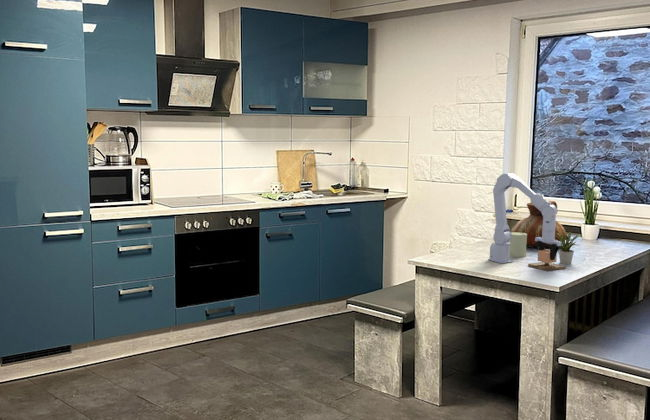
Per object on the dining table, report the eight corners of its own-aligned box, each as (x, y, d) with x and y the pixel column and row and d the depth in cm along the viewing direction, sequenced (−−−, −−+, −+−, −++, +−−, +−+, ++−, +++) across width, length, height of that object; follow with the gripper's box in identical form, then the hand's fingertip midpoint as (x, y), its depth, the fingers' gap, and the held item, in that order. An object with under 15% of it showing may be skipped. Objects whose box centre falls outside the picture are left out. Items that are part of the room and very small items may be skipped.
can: (521, 258, 337) (522, 234, 336) (504, 255, 343) (505, 232, 342) (529, 255, 344) (530, 232, 342) (512, 253, 350) (513, 230, 349)
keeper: (528, 266, 318) (528, 256, 317) (546, 263, 324) (546, 254, 323) (547, 271, 307) (547, 261, 307) (565, 268, 313) (566, 259, 312)
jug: (559, 252, 352) (561, 206, 348) (503, 246, 367) (505, 202, 364) (570, 244, 377) (573, 201, 374) (518, 239, 393) (520, 197, 389)
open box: (537, 260, 316) (538, 250, 316) (546, 259, 319) (547, 249, 318) (547, 263, 311) (547, 252, 310) (556, 261, 314) (556, 251, 313)
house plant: (585, 267, 317) (587, 233, 314) (554, 266, 319) (556, 232, 317) (579, 261, 330) (581, 229, 328) (550, 260, 333) (552, 228, 331)
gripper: (531, 228, 318) (529, 256, 319) (554, 233, 305) (552, 262, 307) (541, 227, 321) (540, 255, 323) (565, 232, 308) (563, 260, 310)
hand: (547, 258), depth 315 cm, fingers closed on open box, 6 cm apart
